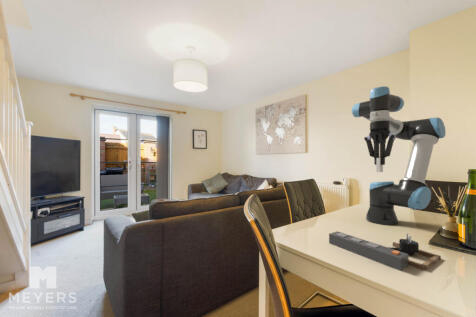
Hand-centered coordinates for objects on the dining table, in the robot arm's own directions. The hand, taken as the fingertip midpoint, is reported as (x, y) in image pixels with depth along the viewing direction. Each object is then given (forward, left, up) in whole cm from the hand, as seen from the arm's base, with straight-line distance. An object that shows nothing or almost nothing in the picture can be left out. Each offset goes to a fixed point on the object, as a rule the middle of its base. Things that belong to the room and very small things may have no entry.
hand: (379, 171), depth 96 cm
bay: (+13, +15, -30) cm, 36 cm away
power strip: (+23, +5, -30) cm, 38 cm away
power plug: (+15, +7, -27) cm, 31 cm away
